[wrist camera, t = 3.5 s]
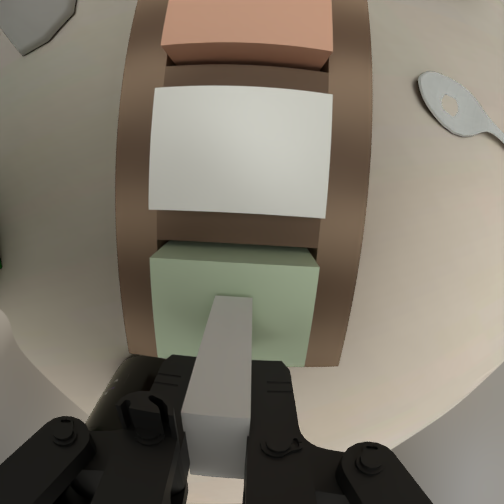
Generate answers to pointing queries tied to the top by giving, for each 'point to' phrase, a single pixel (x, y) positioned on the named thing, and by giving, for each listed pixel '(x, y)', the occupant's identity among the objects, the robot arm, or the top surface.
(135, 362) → the supplement bottle
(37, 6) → the flask
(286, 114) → the white rectangular block
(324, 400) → the top surface
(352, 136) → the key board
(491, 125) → the spoon
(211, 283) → the sage key
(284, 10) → the terracotta key
